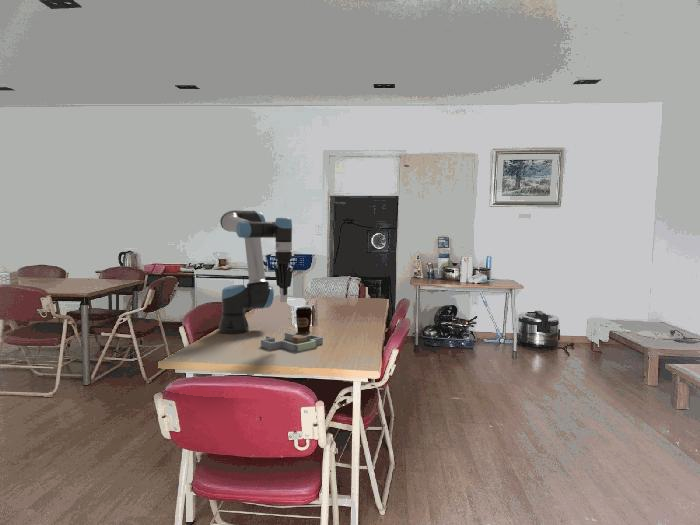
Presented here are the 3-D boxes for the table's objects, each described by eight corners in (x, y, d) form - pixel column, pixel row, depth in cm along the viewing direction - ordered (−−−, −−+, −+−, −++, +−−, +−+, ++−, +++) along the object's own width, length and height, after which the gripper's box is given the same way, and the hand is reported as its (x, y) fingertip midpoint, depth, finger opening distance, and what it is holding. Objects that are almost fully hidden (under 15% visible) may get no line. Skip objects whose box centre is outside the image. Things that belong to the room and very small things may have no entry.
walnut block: (291, 347, 215) (291, 336, 215) (300, 345, 219) (300, 334, 218) (298, 349, 212) (298, 338, 211) (307, 347, 215) (307, 336, 215)
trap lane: (254, 344, 220) (254, 338, 219) (296, 336, 236) (296, 330, 236) (284, 354, 203) (284, 347, 203) (327, 345, 220) (327, 338, 220)
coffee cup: (309, 335, 240) (309, 309, 239) (293, 334, 241) (293, 308, 240) (314, 331, 248) (314, 306, 247) (298, 330, 250) (298, 305, 249)
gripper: (268, 250, 223) (268, 300, 225) (285, 252, 213) (285, 304, 215) (281, 250, 228) (281, 299, 230) (298, 251, 219) (298, 302, 221)
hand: (283, 301), depth 223 cm, fingers closed
